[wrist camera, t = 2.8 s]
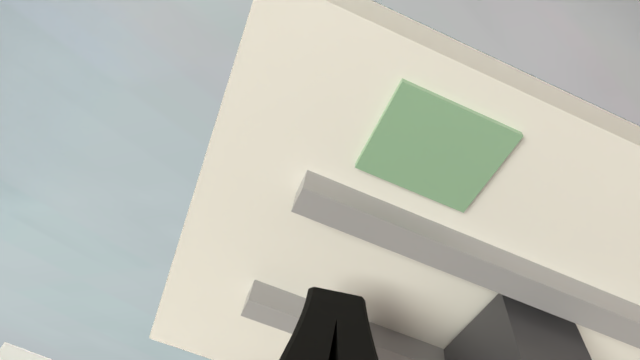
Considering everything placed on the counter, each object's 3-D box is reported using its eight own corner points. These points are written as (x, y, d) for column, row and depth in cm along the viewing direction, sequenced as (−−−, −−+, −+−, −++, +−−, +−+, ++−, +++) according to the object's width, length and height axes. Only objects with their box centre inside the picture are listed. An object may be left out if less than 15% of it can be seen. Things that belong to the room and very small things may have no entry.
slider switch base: (918, 257, 13) (1036, 338, 11) (597, 446, 20) (626, 520, 18) (280, -43, 10) (252, -23, 8) (170, 295, 17) (139, 357, 15)
